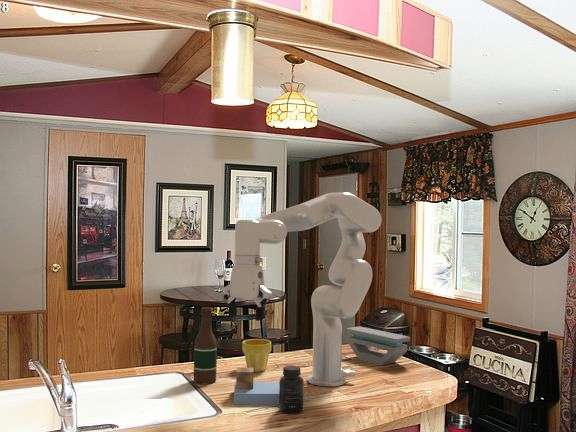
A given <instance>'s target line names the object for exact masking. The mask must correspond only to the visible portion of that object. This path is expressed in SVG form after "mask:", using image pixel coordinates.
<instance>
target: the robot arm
mask: <svg viewBox="0 0 576 432" xmlns="http://www.w3.org/2000/svg"><path fill="white" fill-rule="evenodd" d="M333 219H337V222H338V223H337V224H338V227H339V229H340V233H341V237H342V238H341V239H342V240H341V245H340V246H339V249H338V252H337V253H336V256H335V257H334V259H333V261H332V263H331V265H330V267H329V270H328V275H327V276H328V279H329V281H330V282H331V283H333V284H335V285H336V286H333V285H320V286H318V287H316V288H315V289H314V291H313V292H312V295H311V297H310V298H311V299H310V304H311V310H312V311H311V312H312V319H313V322H312V323H313V334H312V335H313V336H312V371H311V374H310V375H308V376H307V382H308V383H309V384H311V385H314V386H319V387H339V386H343V385H344V384H345V383H347V380H346V377H350V378H356V376H357V375H356V374H357V373H356V371H355V370H350V369H344V368H343V367H342V352H343V351H342V345H343V343H342V342H343V325H342V321H341V319H351V318H353V317H354V316H355V315H356V314H357V312H358V311H359V309H360V308H361V306H362V303H363V301H364V300H365V298H366V296H367V293H368V291H369V289H370V286H371V284H372V282H373V269H372V266H371V264H370V263H369V262H367V261H366V260H365V259H364V260H363V258H364V256H365V252H366V249H367V248H366V241H365V238H364V237H365V236H364V235H363V234H364V233H373V232H376V231H377V230H378V229H380V227H381V225H382V215H381V213H380V212H379V210H378V209H377V208H376V207H374V206H373V205H371V204H370V203H368V202H366V201H365V200H363V199H361V198H360V197H358V196H356V195H355V194H353V193H351V192H347V191H345V192H344V191H343V192H328V193H324V194H323V195H319V196H317V197H314V198H312V199H309V200H307V201H305V202H301V203H300V204H297V205H293V206H290V207H287V208H283V209H280V210H277V211H274V212H270V213H268V214H265V215H263V216H260V217H258V218H255V219H239V220H238V219H237V220H236V222H235V223H234V224H235V227H234V263H233V265H232V267H231V272H230V279H229V284H228V285H226V286H224V287H222V288H221V290H222V293H223V296H224V299H225V301H226V303H227V304H228V317H229V318H234V317H237V310H238V302H237V300H239V299H241V300H248V301H249V300H250V301H253V302H254V303H255V305H257V306H256V307H255V319H254V320H255V321H256V322H258V321H262V320H263V319H264V317H265V316H264V315H265V307H266V305H267V304H268V303H269V302H270V298H271V297H272V295H273V293H272V291H270V289H267V288H266V286H265V277H264V275H265V274H264V270H263V265H260V264H261V263H263V261H264V260H263V257H261V250H260V249H261V244H264V245H265V244H267V245H277V244H281V243H282V242H284V241H285V240H286V238H287V235H288V233H289V232H302V231H305V230H310V229H313V228H315V227H317V226H319V225H321V224H324V223H326V222H328V221H330V220H333ZM339 286H340V287H339Z"/></svg>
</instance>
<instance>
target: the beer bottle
mask: <svg viewBox="0 0 576 432" xmlns="http://www.w3.org/2000/svg"><path fill="white" fill-rule="evenodd" d="M200 311H201V319H200V329H199V332H198V334H197V335H196V338H195V340H194V347H193V348H194V349H193V382H194V383H195V384H197V385H211V384H214V383H216V381H217V362H218V358H217V356H218V344H217V339H216V336H215V334H214V333H213V326H212V325H213V324H212V312H213V309H212V307H211V306H203V307H201V310H200Z"/></svg>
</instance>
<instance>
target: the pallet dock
mask: <svg viewBox="0 0 576 432" xmlns="http://www.w3.org/2000/svg"><path fill="white" fill-rule="evenodd" d="M233 405H279V381H253V389H236V381H234V390H233Z"/></svg>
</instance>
